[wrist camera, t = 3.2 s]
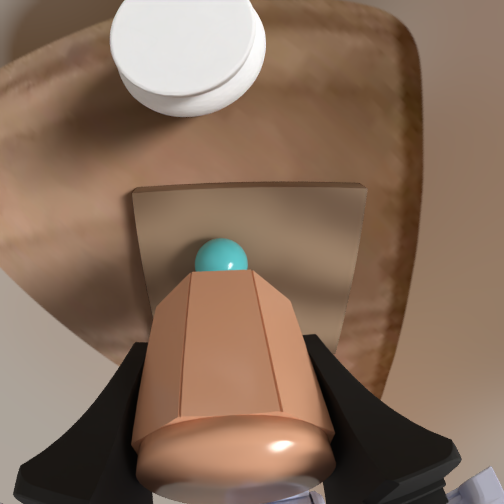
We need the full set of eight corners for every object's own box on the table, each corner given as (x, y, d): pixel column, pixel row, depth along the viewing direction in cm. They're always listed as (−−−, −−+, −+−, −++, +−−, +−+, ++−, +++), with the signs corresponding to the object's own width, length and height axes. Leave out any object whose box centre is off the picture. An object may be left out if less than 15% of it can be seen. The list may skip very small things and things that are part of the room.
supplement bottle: (135, 88, 15) (54, 83, 6) (182, 10, 13) (151, -69, 4) (218, 127, 17) (219, 156, 8) (265, 50, 15) (318, 0, 6)
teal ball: (245, 272, 20) (250, 300, 17) (197, 274, 19) (195, 302, 17) (245, 228, 18) (250, 252, 16) (194, 230, 18) (191, 254, 15)
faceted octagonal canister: (283, 364, 14) (316, 496, 8) (170, 370, 14) (161, 505, 8) (294, 267, 12) (359, 426, 6) (149, 273, 11) (105, 441, 5)
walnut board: (331, 344, 26) (335, 353, 24) (166, 355, 24) (164, 365, 23) (359, 183, 19) (367, 188, 18) (136, 187, 18) (131, 193, 17)
